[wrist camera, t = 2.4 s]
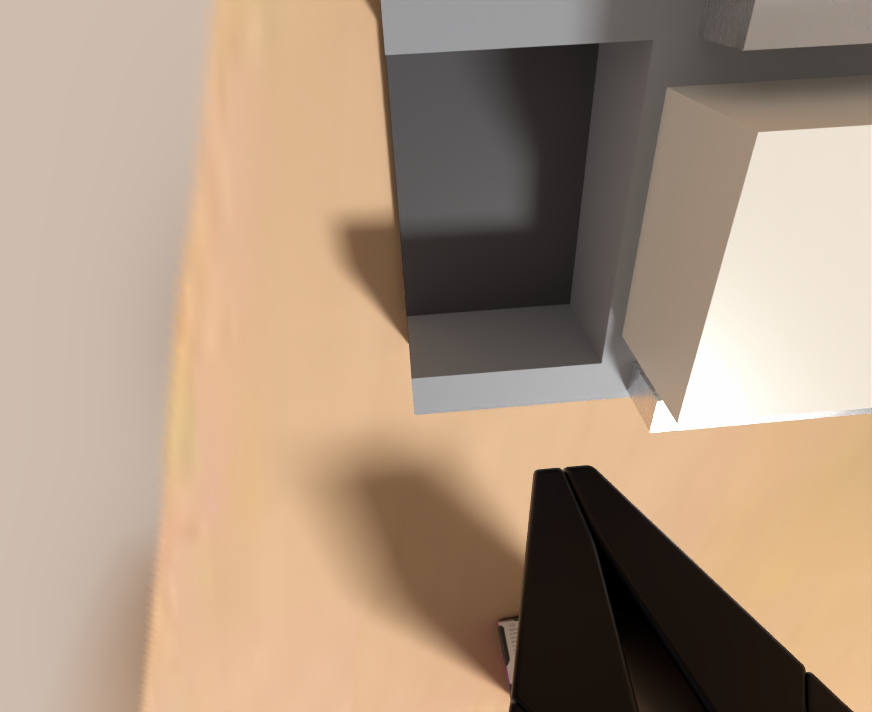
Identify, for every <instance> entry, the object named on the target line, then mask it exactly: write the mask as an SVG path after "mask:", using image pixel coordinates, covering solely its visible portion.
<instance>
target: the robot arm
mask: <svg viewBox="0 0 872 712" xmlns="http://www.w3.org/2000/svg"><path fill="white" fill-rule="evenodd" d="M509 712H853V711H852V710H851V709H850V708H849V707H848V706H847V705H845V704H844V703H843V702H842V701H841V700H840V699H839V698H838V697H837V696H836V695H835V694H834V693H833V692H832V691H831V690H829V689H828V688H827V687H826V686H825V685H824V684H823V683H822V682H821V681H820V680H819V679H818V678H817V677H816V676H815V675H814V674H812V673H811V672H806V671H805V667H804V665H803V664H802V663H801V662H799V661H798V660H797V659H796V658H795V657H794V656H793V655H792V654H791V653H790V652H789V651H788V650H787V649H786V648H785V647H784V646H783V645H781V644H780V643H779V642H778V641H777V640H776V639H775V638H774V637H773V636H772V635H771V634H770V633H769V632H768V631H767V630H766V629H765V628H763V627H762V626H761V625H760V624H759V623H758V622H757V621H756V620H755V619H754V618H753V617H752V616H751V615H750V614H749V613H748V612H747V611H745V610H744V609H743V608H742V607H741V606H740V605H739V604H738V603H737V602H736V601H735V600H734V599H733V598H732V597H731V596H730V595H729V594H728V593H726V592H725V591H724V590H723V589H722V588H721V587H720V586H719V585H718V584H717V583H716V582H715V581H714V580H713V579H712V578H711V577H710V576H708V575H707V574H706V573H705V572H704V571H703V570H702V569H701V568H700V567H699V566H698V565H697V564H696V563H695V562H694V561H693V560H692V559H690V558H689V557H688V556H687V555H686V554H685V553H684V552H683V551H682V550H681V549H680V548H679V547H678V546H677V545H676V544H675V543H674V542H672V541H671V540H670V539H669V538H668V537H667V536H666V535H665V534H664V533H663V532H662V531H661V530H660V529H659V528H658V527H657V526H656V525H655V524H653V523H652V522H651V521H650V520H649V519H648V518H647V517H646V516H645V515H644V514H643V513H642V512H641V511H640V510H639V509H638V508H637V507H635V506H634V505H633V504H632V503H631V502H630V501H629V500H628V499H627V498H626V497H625V496H624V495H623V494H622V493H621V492H620V491H619V490H617V489H616V488H615V487H614V486H613V485H612V484H611V483H610V482H609V481H608V480H607V479H606V478H605V477H604V476H603V475H602V474H601V473H599V472H598V471H597V470H596V469H595V468H594V467H592V466H589V465H584V466H573V467H566V468H564V469H563V470H562V469H560V468H550V469H539V470H536V471H535V472H534V474H533V484H532V493H531V503H530V513H529V523H528V532H527V542H526V552H525V562H524V572H523V581H522V591H521V601H520V611H519V620H518V630H517V640H516V650H515V659H514V669H513V679H512V689H511V699H510V706H509Z"/></svg>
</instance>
